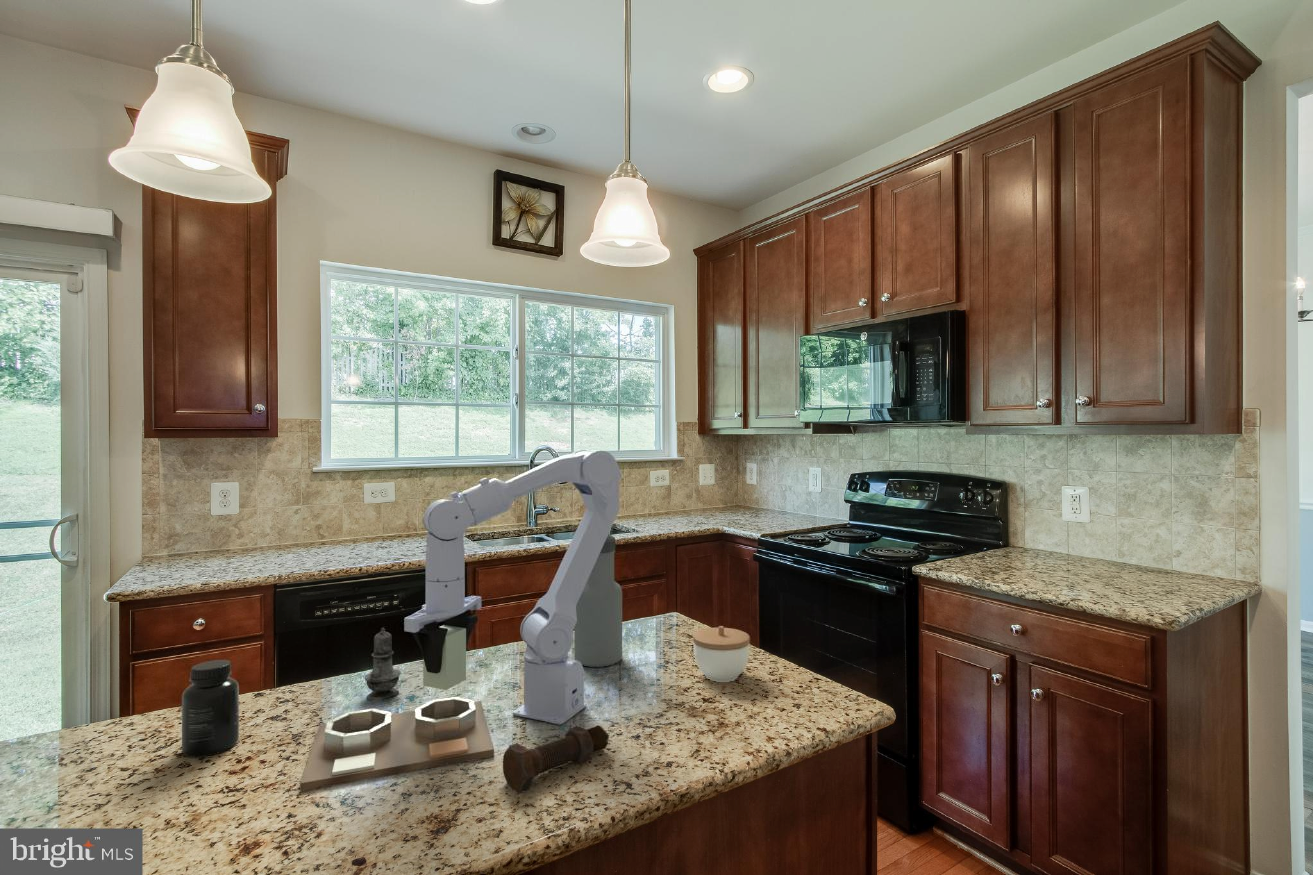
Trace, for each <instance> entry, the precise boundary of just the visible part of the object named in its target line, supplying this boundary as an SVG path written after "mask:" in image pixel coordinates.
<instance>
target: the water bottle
mask: <svg viewBox="0 0 1313 875" xmlns="http://www.w3.org/2000/svg"><path fill="white" fill-rule="evenodd" d="M615 553H616V537H615V536H613V535H612V534H608V536H607V538H606V541H605V543H604V545H603V547H602V549H601V552H600V554H599V556H598V558H597V560H596V563H595V565H594V567H593V569H592V571H591V574H590V576H589V578H588V580H587V582H586V585H585V587H584V589H583V591H582V593H581V596H580V598H579V600H578V602H577V605H576V616H577V623H576V625H575V627H574V630H573V642H574V643H573V645H574V646H573V648H574V649H573V650H574V651H573V652H574V658H573V659H574V660H577V661H579V662H581V664H582V666H583V665H584V666H583V667H587V666H589V668H604V666H606V667H609V665H610V666H613V665H616V664H617V663H619V662H620V661H621V660H622V658H623V590H622V587H621V585H620V584H619V583H618V582H616V580H615ZM615 663H616V664H615Z"/></svg>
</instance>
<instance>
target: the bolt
mask: <svg viewBox="0 0 1313 875" xmlns="http://www.w3.org/2000/svg"><path fill="white" fill-rule="evenodd" d="M609 739H610V736H609V734H608V733H607V731H606V730H605V729H604V728H603V727H602V726H601V725H595V726H593V727H590V728H587V729H586V728H584V727H582V726H580V725H579V726H578V725H575V726H572V727H569V729H568V730H567V732H566V733H565V735H564V737H561V738H559V739H556V740H553V741H551V742H548V743H546V744H542V745H540V746H537V747H534V748H529V749H528V748H526V747H524V746H523V745H521V744H519V743H518V742H515V743H513V744H511V745H509V746H508V747H507V748H506V750H505V751H504V754H503V756H502V772H503V777H504V779H505V782H506V783H507V785H508V787H510V788H511V789H512V790H513V791H515V792H518V793H524V792H526V791H528V790H529V789H530V788H531V786H532V783H533V781H534V780H535V777H539V775H541V774H543V773H546V772H548V771H551V770H552V769H556V768H559V767H561V766H563V765H567V764H569V763H573V764H575V765H579V766H581V765H584V764H586V763H588V762H590V759H591V758H592V756H593V753H596V752H599V751H601V750H604V749H606V748H607V747H608V745H609V742H608V741H609ZM583 763H584V764H583Z"/></svg>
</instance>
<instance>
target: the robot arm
mask: <svg viewBox="0 0 1313 875" xmlns="http://www.w3.org/2000/svg"><path fill="white" fill-rule="evenodd" d="M622 475H623V473H622V471H621V470H620V467H619V464H618V462H617V460H616V458H615V457H614V456H613V454H612V453H610V452H608V451H606V450H592V451H591V450H589V451H588V450H585V449H584V450H583V449H580V450H576V451H574V452H572V453H567V454H563V455H560V456H558V457H557V456H556V457H555V458H552V459H550V460H549V461H545V463H542V464H540V465H538V466H536V467H533V468H532V469H529V470H528V471H526V472H522V473H521V474H519V475H517V476H514V477H513V478H510V479H508V480H507V481H503V480H501V479H498V478H495V477H494V478H492V479H489V478H488V477H483V478H481V479H479V480H478V483H479V484H477V485H475V486H472V487H469V488H467V489H465V490H463V491H460V492H459V493H458V491H453V492H450V493H449V495H450V500H449V499H444V498H442V499H441V498H440V499H438V500H437V499H436V500H435V501H432V502H431V503H430V504H429V505H428V507H427V508H426V509H425V511H424V514H423V516H422V517H421V521H422V524H423V528H424V529H425V530H426V531H427V532H426V539H425V544H426V548H425V604H423V605H421V609H420V610H418V611H416V612H414V613H412V614H411V615H408V616H406V617H404V619H403V620H404V622H403V625H404V628H403V629H404V632H408V633H410V634H411V635H412V637H413V638H414V640H415V641H416V643H417V645H418V648H419V649H420V651H421V656H422V657H423V658H422V659H424V662H425V666H426V670H427V672H430V673H435V674H437V673H439V672H440V670H441V665H442V650H443V645H444V640H445V637H446V634H447V631H448V629H447V628H440V624H439V623H440V622H443V623H444V625H447V626H453V627H460V628H466V648H467V647H468V643H469V641H470V640H469V639H470V637H471V634H472V632H473V630H474V627H475V626H476V624H477V623H478V621H479V615H478V614H477V613H472V612H471V611H474V610H475V611H478V610H481V609H482V596H478V595H471V596H466V597H465V595H466V594H465V589H466V587H465V586H466V585H465V583H466V582H465V580H466V578H465V571H466V570H465V569H466V568H465V567H466V566H465V563H466V562H465V559H466V558H465V551H466V550H465V547H464V546H465V544H464V543H465V542H464V537H465V535H464V534H465V533H466V531H467V530H468V528H469V527H471V528H473V527H476V526H477V525H480V524H482V523H484V522H486V521H488V520H491V519H493V518H496V517H497V516H499V515H502V514H504V513H506V512H509V511H510V509H511V506H512V505H513V502H514V501H515V500H516V499H518V498H522V497H524V496H526V495H529V494H531V493H534V492H536V491H538V490H540V489H543V488H546V487H550V486H551V485H553V484H556V483H571V484H572V485H573V486H574V487H575V488H576V489H577V491H578V492H579V494H580V496H581V498H582V501H583V503H584V507H585V511H584V513H583V515H582V518H581V520H580V522H579V524H578V526H577V528H576V530H575V533H574V535H573V537H572V539H571V541H570V543H569V545H568V548H566V549H567V550H566V551H565V554H564V556H563V558H562V560H561V562H560V564H559V567H558V569H557V571H556V573H555V575H554V578H553V579H552V582H551V584H550V586H549V588H548V590H547V592H546V593H545V594H544V595H543V596H542V597H540V598H539V599H538V600H537V602H536V604H535V606H534V608H533V609H532V610H531V611H529V613H527V614H526V616H525V617H524V618H523V620H522V621H521V624H520V629H519V632H520V637H521V639H522V641H523V642H524V643H525V644H526V648H525V651H524V653H523V704H522V705H521V706H519V707H517V708H516V709H514V710H513V711H512V715H513V716H517V717H523V718H527V719H532V720H536V721H543V722H546V723H550V724H555V725H562V724H564V723H565V722H567V721H568V720H570V719H571V718H572V717H574V716H575V715H576V714H578V713H579V712H580V711H581V710H583V709H584V708H585V707H587V703H586V702H585V683H584V682H585V673H584V666H583V665H582V664H581V662H579V661H577V660H575V658H572V657H571V656H570V655H569V652H570V651H571V649H572V646H573V644H574V643H573V642H574V627H575V625H576V623H577V616H576V605H577V602H578V600H579V598H580V596H581V593H582V591H583V589H584V587H585V585H586V582H587V580H588V578H589V576H590V574H591V571H592V569H593V567H594V565H595V563H596V560H597V558H598V556H599V554H600V552H601V549H602V547H603V545H604V543H605V541H606V538H607V536H608V535H610V534H609V533H610V532H611V529H612V527H613V526H614V523H615V520H616V518H617V516H618V514H619V511H620V480H621V478H622Z"/></svg>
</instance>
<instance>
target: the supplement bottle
mask: <svg viewBox="0 0 1313 875" xmlns="http://www.w3.org/2000/svg"><path fill="white" fill-rule="evenodd" d="M231 668H232V666H231V661H230V660H228V659H214V660H209V661H204V662H200V663H198V664H195V665H193V666H192V667H191V668H190V677H189V682H190V683H192V684H189V685H188V686H187V687H186V689H185V690H184V691H183V693H182V694H181V752H182V753H183V755H185V756H186V757H188V758H189V757H190V758H201V757H202V758H204V757H207V756H213V755H217V754H219V753H222V752H224V751H226V750H229V749H230V748H232V747H233V746H234V745H236V744H237V742H238V741H239V738H240V737H239V734H240V731H239V729H240V718H239V717H240V716H239V715H240V712H239V711H240V709H239V708H240V702H239V700H240V697H239V695H240V694H239V693H240V692H239V690H240V687H239V682H238V681H237V680H236V679H235V678H233V677H230V676H231V675H232V669H231Z"/></svg>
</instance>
